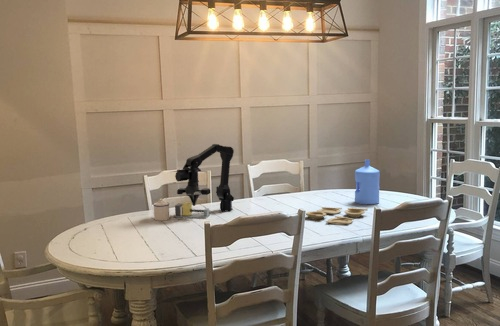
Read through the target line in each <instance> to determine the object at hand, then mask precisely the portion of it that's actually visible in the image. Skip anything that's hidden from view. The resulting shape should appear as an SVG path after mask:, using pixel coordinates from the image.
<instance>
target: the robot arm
mask: <svg viewBox="0 0 500 326" xmlns="http://www.w3.org/2000/svg"><path fill="white" fill-rule="evenodd" d="M215 153H219V156H220V158H221V170H220V171H221V172H220V183H219V185H218V186H216V187H215V188H216V190H215V194H216V196H217V198H218V200H219V201H220V203H219V210H220V212H232V210H233V201H234V200H235V197H234V196H233V195H232V194H231V189H230V186H229V181H230V179H229V178H230V166H231V160H232V159H233V157H234V153H235V150H234V148H233V147H232V146H227V145H226V146H225V145H221V144H218V143H213V144H212V145H211V146H209V147H207V148H206V149H204V150H203V151H202V152H200V153H198V154H196V155H194V156H190V157H189V158H187V159H186V162H185V163H184V166H183V167H182V169H180V168H179V169H177V170H176V172H175V175H174V177H175V180H176V181H177V182H184V181H187V185H186V187H179V188H178V189H177V191H176V194H177V195H183V194H186V197H189V199H190V201H191V202H192V207H195V206H196V205H197V202H198V200H199V199H198V198H199V197H200V196H202V195H203V196H208V195H210V194H211V189H210V188H208V187H207V188H201V189H200V187H199V183H200V181H199V172H202V170H201V168H199V167H200V166H201V165H202V163H203V162H204V161H205V160H206V159H208V158H210V157H211V156H213V155H214V154H215Z"/></svg>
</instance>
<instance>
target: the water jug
mask: <svg viewBox="0 0 500 326" xmlns="http://www.w3.org/2000/svg"><path fill="white" fill-rule="evenodd" d="M370 160H371V159H364V166H361V167H359V168H358V169H355V172H354V181H355V184H356V185H355V188H356V189H355V191H354V202H355V203H356V204H359V205H367V204H371V205H377V204H379V202H380V188H381V187H380V177H381V175H380V170H379V169H376V167H375V168H374V167H372V166H371V165H370V164H371V162H370Z"/></svg>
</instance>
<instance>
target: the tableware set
mask: <svg viewBox="0 0 500 326" xmlns="http://www.w3.org/2000/svg"><path fill="white" fill-rule="evenodd" d="M342 209H343V207H327V206H321V208H320V209H319V208H318V209H317V210H316V211H308V212H305V213H306V215H305V216H307V217H309V219H310V220H322V219H323V218H324V217H326V216H327V215H335V216H334V218H329V219H327V220H326V221H325V223H326V224H331V225H337V226H343V225H350V224H352V223H353V221H354V218H360V217H362V215H363V214H365V212H366V211H368V210H369V209H368V208H357V207H355V208H354V207H347V208H346V209H345V210H344V211H343V212H344V213H345V214H347V215H348V217H347V216H339V215H338V214H340V213H341V212H342V211H341V210H342Z"/></svg>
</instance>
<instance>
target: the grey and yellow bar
mask: <svg viewBox="0 0 500 326" xmlns="http://www.w3.org/2000/svg"><path fill="white" fill-rule="evenodd" d="M183 203H184V202H183ZM183 203H181V202H180V203H177V204H175V205H174V212H175V214H174V215H175V216H174V218H178V219H203V220H204V219H208V217H210V216H211V214H210V208H208V207H207V208H204V209H194V208H192V209H190V212H192V214H191V215H190V216H188V215H183Z"/></svg>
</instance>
